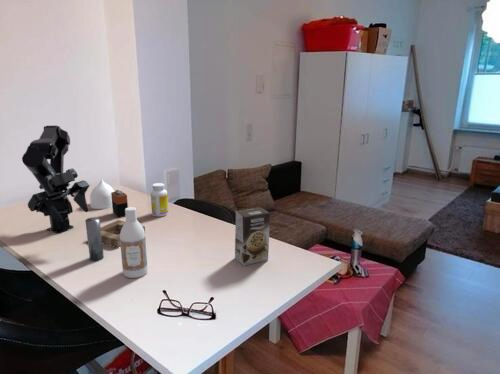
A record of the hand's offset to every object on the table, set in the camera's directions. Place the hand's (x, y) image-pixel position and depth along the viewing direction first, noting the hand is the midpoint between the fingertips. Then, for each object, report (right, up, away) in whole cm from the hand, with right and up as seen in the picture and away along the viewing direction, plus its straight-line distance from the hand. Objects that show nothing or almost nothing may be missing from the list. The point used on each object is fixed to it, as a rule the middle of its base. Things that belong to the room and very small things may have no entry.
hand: (75, 216), depth 118 cm
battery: (+1, -2, +37) cm, 38 cm away
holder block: (+8, -9, +16) cm, 20 cm away
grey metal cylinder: (+7, -13, +1) cm, 15 cm away
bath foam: (+21, -16, -8) cm, 28 cm away
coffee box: (+55, -14, +2) cm, 57 cm away
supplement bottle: (+18, -2, +38) cm, 42 cm away
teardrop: (-10, +1, +48) cm, 49 cm away
